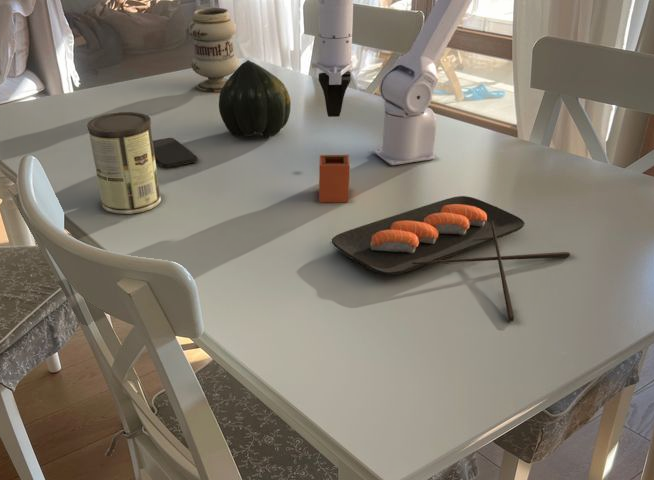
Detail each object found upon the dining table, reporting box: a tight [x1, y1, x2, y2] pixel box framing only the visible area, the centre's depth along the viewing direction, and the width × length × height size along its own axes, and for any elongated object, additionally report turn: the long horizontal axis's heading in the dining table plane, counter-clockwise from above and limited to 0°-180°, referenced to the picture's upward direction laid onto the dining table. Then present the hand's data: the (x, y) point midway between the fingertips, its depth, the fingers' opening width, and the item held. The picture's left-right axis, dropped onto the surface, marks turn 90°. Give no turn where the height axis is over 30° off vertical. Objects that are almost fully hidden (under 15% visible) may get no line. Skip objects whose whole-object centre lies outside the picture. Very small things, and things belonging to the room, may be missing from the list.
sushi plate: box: [331, 195, 571, 322], centre depth 102 cm, size 29×30×4 cm
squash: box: [218, 59, 292, 138], centre depth 149 cm, size 14×15×15 cm
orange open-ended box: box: [318, 154, 351, 203], centre depth 122 cm, size 6×5×5 cm
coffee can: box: [86, 111, 162, 215], centre depth 120 cm, size 10×10×14 cm
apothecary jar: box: [188, 7, 240, 93], centre depth 178 cm, size 12×12×18 cm
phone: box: [153, 137, 198, 168], centre depth 142 cm, size 7×1×15 cm
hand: (333, 115), depth 129 cm, fingers closed
